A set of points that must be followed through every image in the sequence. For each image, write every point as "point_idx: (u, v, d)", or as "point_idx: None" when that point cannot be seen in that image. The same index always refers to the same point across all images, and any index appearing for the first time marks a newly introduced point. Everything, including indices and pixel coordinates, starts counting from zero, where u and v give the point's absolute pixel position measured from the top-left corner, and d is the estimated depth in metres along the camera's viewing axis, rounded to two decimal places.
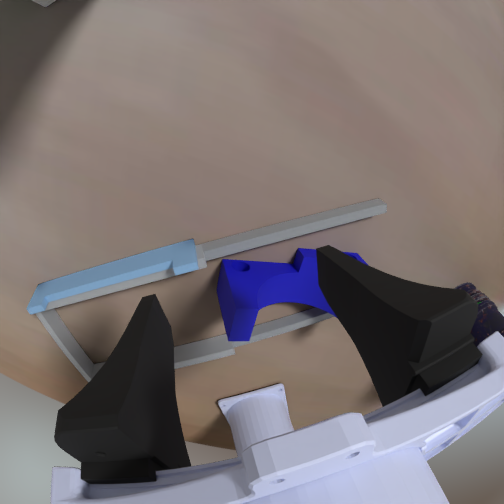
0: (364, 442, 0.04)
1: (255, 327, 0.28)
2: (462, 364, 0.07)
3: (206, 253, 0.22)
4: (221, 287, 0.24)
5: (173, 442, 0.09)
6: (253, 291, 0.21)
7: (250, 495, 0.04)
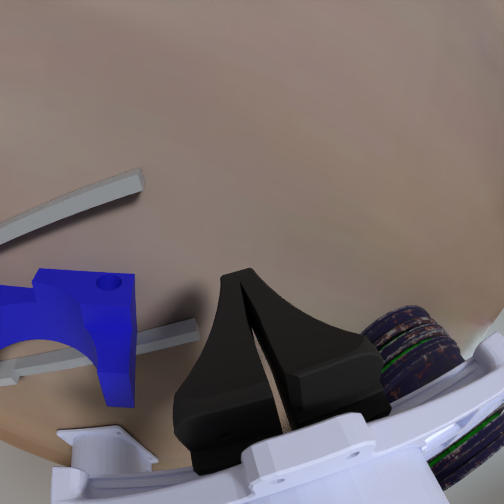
0: (364, 442, 0.04)
1: (37, 356, 0.18)
2: None
3: None
4: None
5: None
6: None
7: (250, 495, 0.04)
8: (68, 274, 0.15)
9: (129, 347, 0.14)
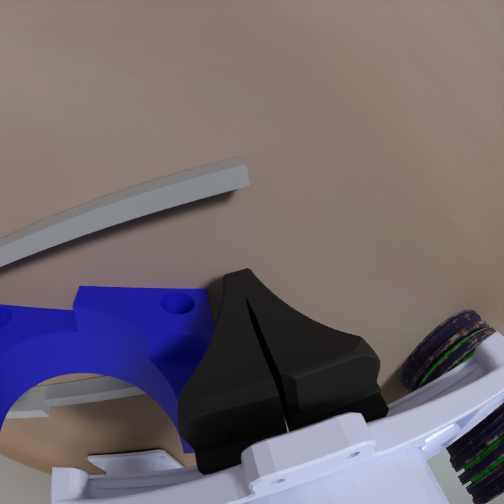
0: (364, 442, 0.04)
1: (74, 384, 0.15)
2: None
3: None
4: None
5: None
6: None
7: (250, 495, 0.04)
8: (121, 294, 0.13)
9: None
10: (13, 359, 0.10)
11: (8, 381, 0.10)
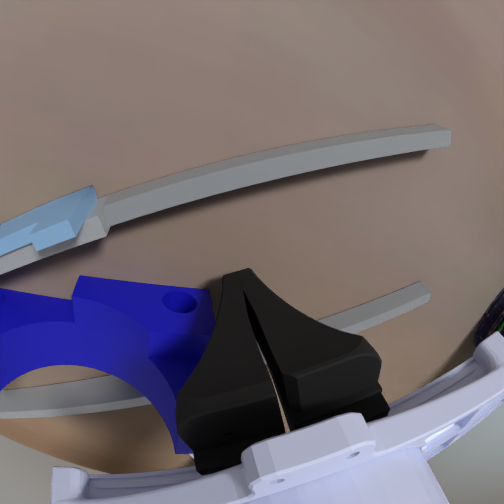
0: (364, 442, 0.04)
1: None
2: None
3: (109, 209, 0.10)
4: None
5: None
6: None
7: (250, 495, 0.04)
8: (122, 288, 0.13)
9: None
10: (4, 345, 0.10)
11: None
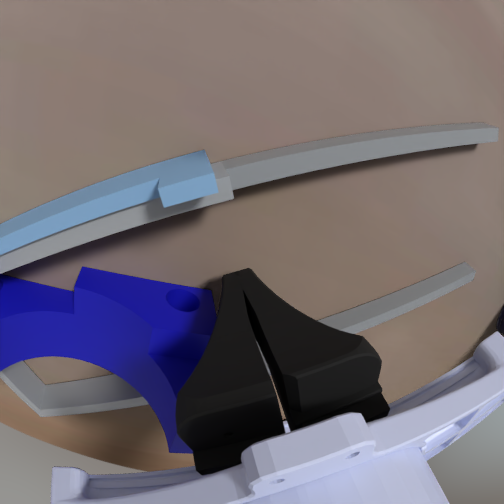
0: (364, 442, 0.04)
1: None
2: None
3: (232, 173, 0.11)
4: None
5: None
6: None
7: (250, 495, 0.04)
8: (125, 282, 0.12)
9: None
10: None
11: None
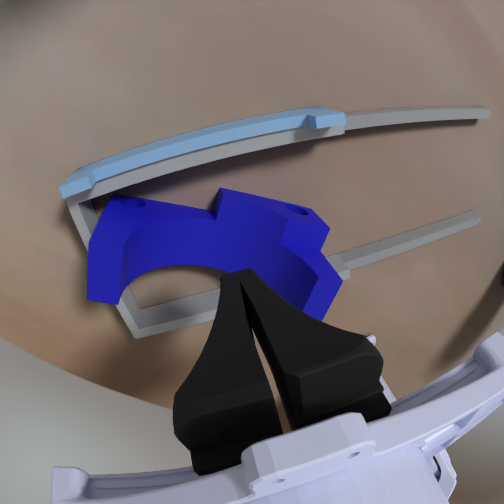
0: (364, 442, 0.04)
1: (367, 246, 0.22)
2: None
3: None
4: None
5: None
6: (130, 228, 0.13)
7: (250, 495, 0.04)
8: (255, 197, 0.18)
9: (328, 263, 0.17)
10: (151, 234, 0.15)
11: (138, 255, 0.15)
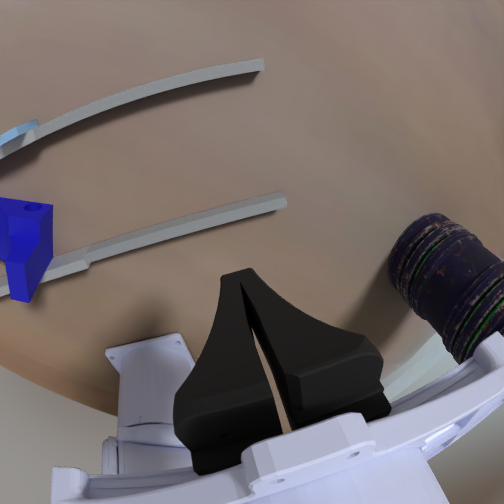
0: (364, 442, 0.04)
1: (117, 237, 0.21)
2: None
3: (40, 128, 0.15)
4: None
5: None
6: None
7: (250, 495, 0.04)
8: (9, 200, 0.18)
9: (32, 250, 0.16)
10: None
11: None
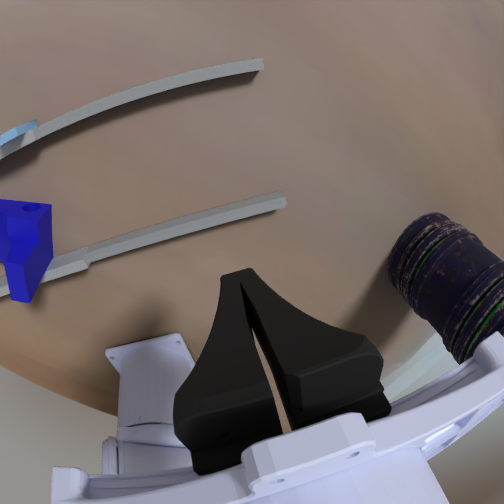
0: (364, 442, 0.04)
1: (116, 237, 0.21)
2: None
3: (40, 128, 0.15)
4: None
5: None
6: None
7: (250, 495, 0.04)
8: (7, 202, 0.17)
9: (31, 250, 0.16)
10: None
11: None
